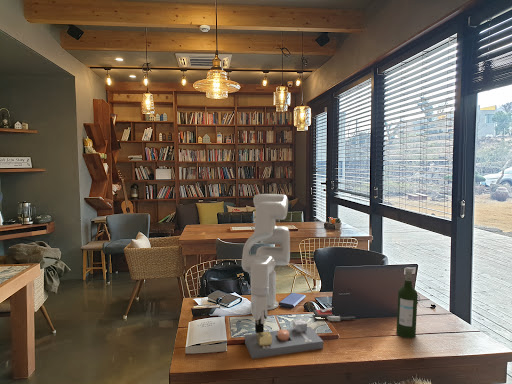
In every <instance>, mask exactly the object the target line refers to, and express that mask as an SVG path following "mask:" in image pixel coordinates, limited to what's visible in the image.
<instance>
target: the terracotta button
mask: <svg viewBox="0 0 512 384" xmlns="http://www.w3.org/2000/svg"><path fill="white" fill-rule="evenodd" d="M277 331H278V332H277V339H278V340H279V341H283V342H284V341H288V340H289V331H287V329H283V328H282V329H278V330H277Z"/></svg>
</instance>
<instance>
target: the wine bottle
mask: <svg viewBox="0 0 512 384" xmlns="http://www.w3.org/2000/svg"><path fill="white" fill-rule="evenodd" d="M418 296H419V295H418V291H417V290H416V289H415V288H414V287H413V268H412V267H409V266H407V267H405V275H404V285H402V286H401V287H400V288H399V289H398V291H397V309H396V310H397V311H396V334H397V335H398V336H399V337H402V338H404V339H413V338H415V337H416V335H417V334H416V333H417V314H418Z"/></svg>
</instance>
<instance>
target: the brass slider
mask: <svg viewBox="0 0 512 384" xmlns="http://www.w3.org/2000/svg"><path fill="white" fill-rule="evenodd" d="M269 332H270V330H268V331H264V332H260V333H257V342H258V344H259V346H265V345H272V336H271V334H270V333H269Z"/></svg>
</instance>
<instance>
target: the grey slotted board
mask: <svg viewBox="0 0 512 384" xmlns="http://www.w3.org/2000/svg"><path fill="white" fill-rule="evenodd" d="M286 330H287V331H289V340H288V341H284V342H283V341H279V340H278V339H277V332H278V331H279V330H273V331H269V333H270V334H271V336H272V345H265V346H259V344H258V342H257V333H256V332H255V333H251V334H249V333H248V334H244V336H243V337H244V339H245V342H244V344H245V346H246V348H247V351H248V353H249V356H250V357H251V359H252V360H253V359H259V358H260V359H261V358H266V357H267V358H268V357H273V356H274V357H275V356H280V355H288V354H293V353H300V352H306V351H314V350H315V351H316V350H320V349H321V350H322V349H324V340H323V339H322V338H321V337H320V335H318V333H317V332H315V330H314V329H313V328H312V327H311V326H307V331H305V332H297V333H296V332H295V331H294V329H293V328H289V329H286Z"/></svg>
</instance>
